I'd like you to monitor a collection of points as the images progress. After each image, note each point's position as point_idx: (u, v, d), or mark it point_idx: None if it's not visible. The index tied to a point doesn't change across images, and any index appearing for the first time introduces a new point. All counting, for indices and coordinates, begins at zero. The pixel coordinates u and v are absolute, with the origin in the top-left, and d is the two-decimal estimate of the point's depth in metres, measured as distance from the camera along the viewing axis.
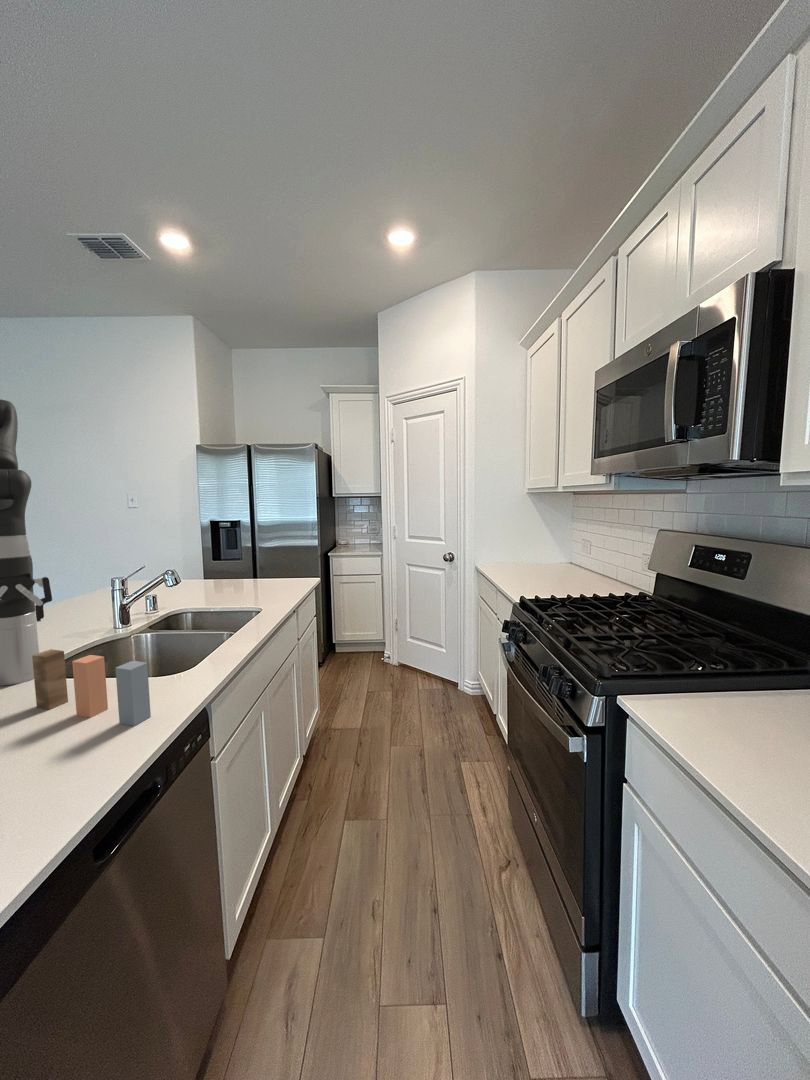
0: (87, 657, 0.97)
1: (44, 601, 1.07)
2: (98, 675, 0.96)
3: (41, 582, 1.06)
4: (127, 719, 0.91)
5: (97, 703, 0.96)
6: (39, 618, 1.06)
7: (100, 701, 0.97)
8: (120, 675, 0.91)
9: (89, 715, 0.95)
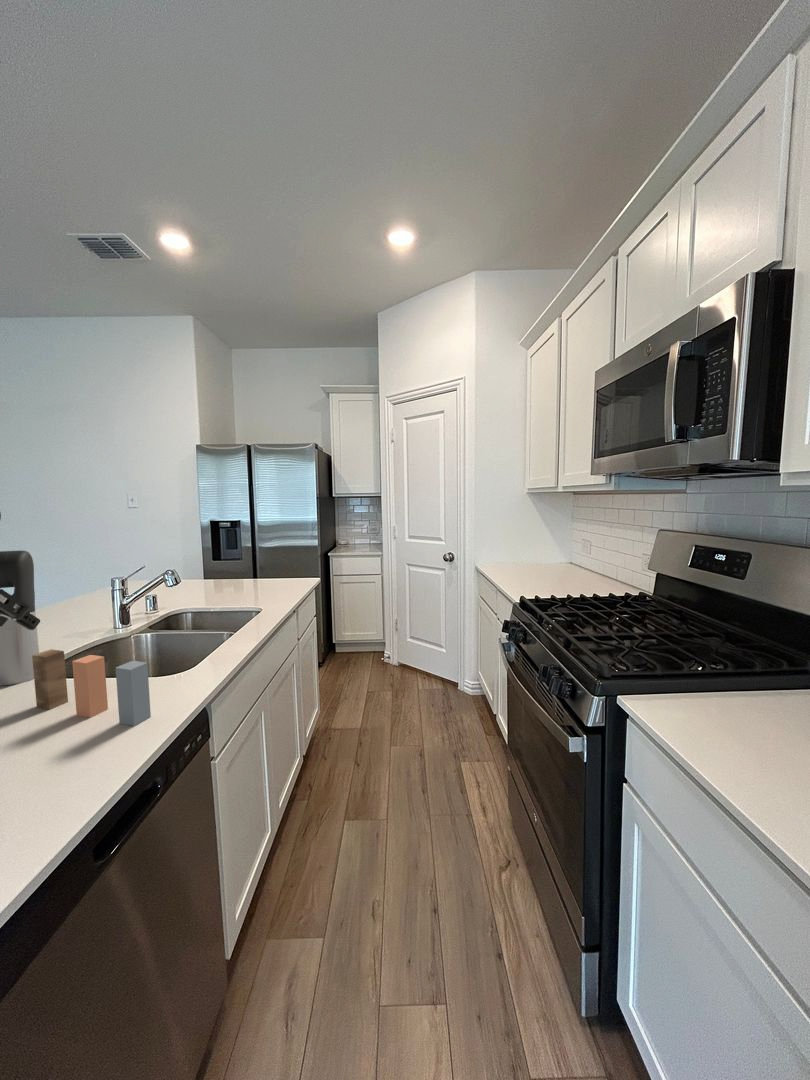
0: (87, 657, 0.97)
1: None
2: (98, 675, 0.96)
3: None
4: (127, 719, 0.91)
5: (97, 703, 0.96)
6: (28, 628, 0.80)
7: (100, 701, 0.97)
8: (120, 675, 0.91)
9: (89, 715, 0.95)
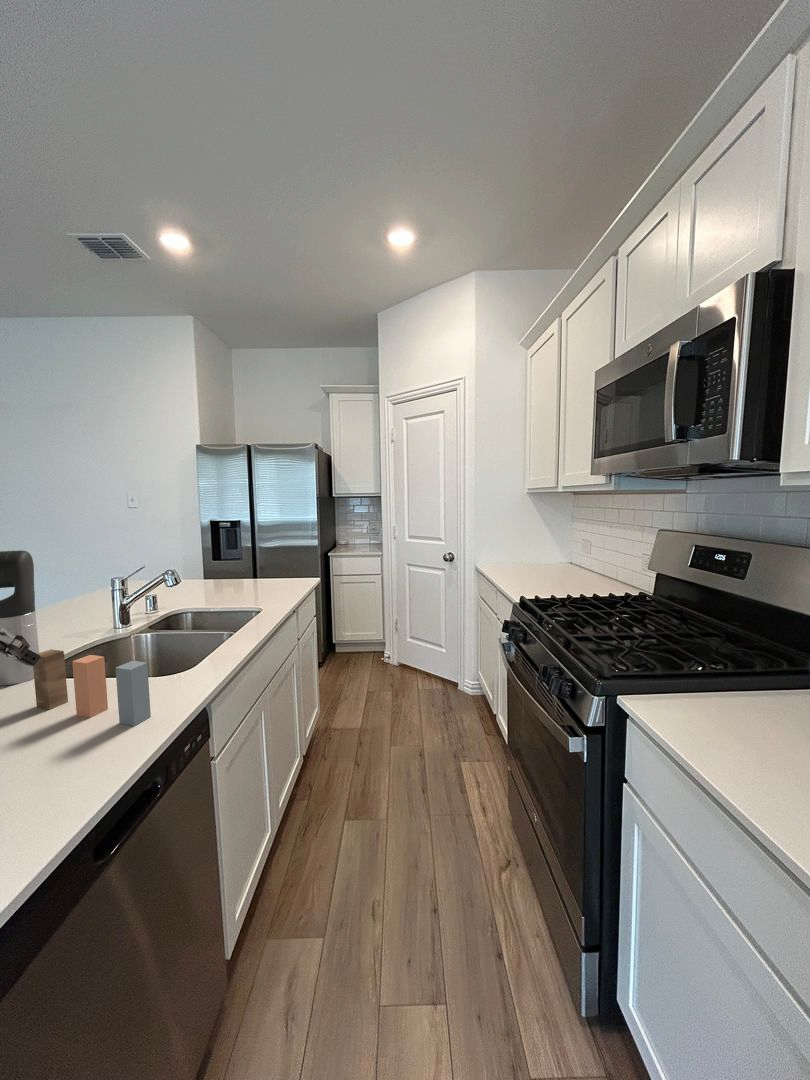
0: (87, 657, 0.97)
1: None
2: (98, 675, 0.96)
3: (9, 644, 0.77)
4: (127, 719, 0.91)
5: (97, 704, 0.96)
6: (29, 665, 0.84)
7: (100, 701, 0.97)
8: (120, 675, 0.91)
9: (89, 715, 0.95)
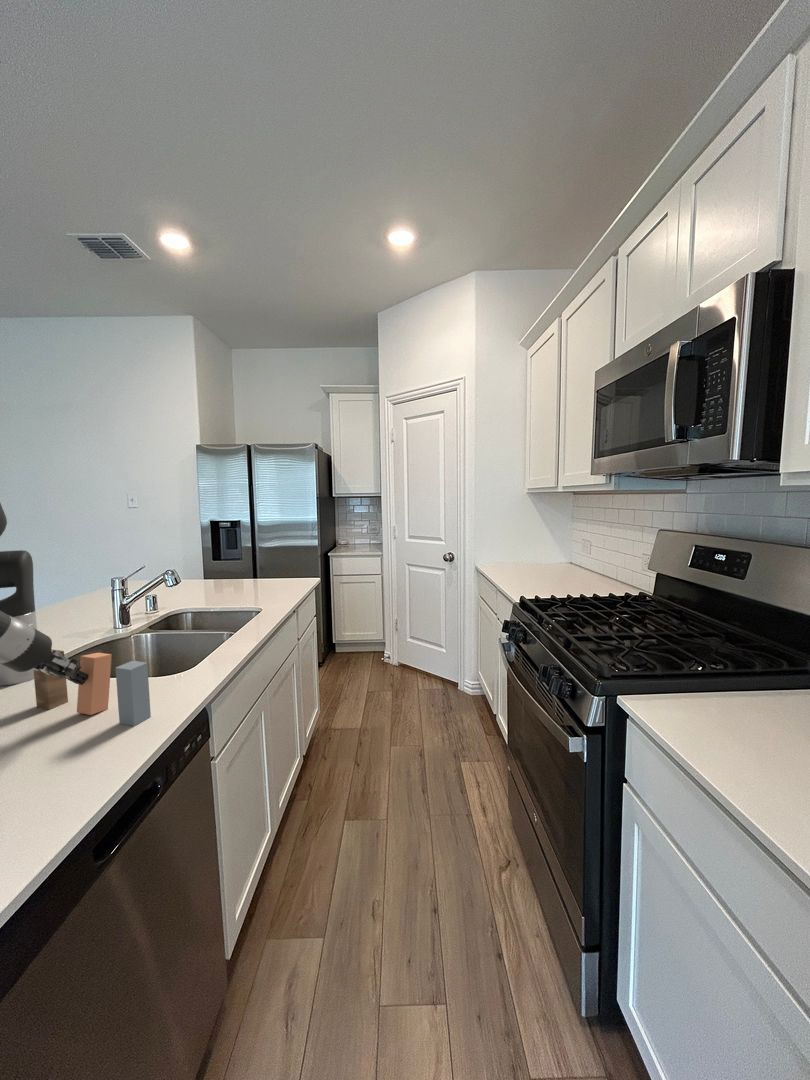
0: (95, 654, 0.98)
1: None
2: (103, 672, 0.97)
3: (65, 667, 0.87)
4: (127, 719, 0.91)
5: (98, 701, 0.96)
6: (79, 683, 0.94)
7: (102, 699, 0.97)
8: (120, 675, 0.91)
9: (89, 712, 0.95)
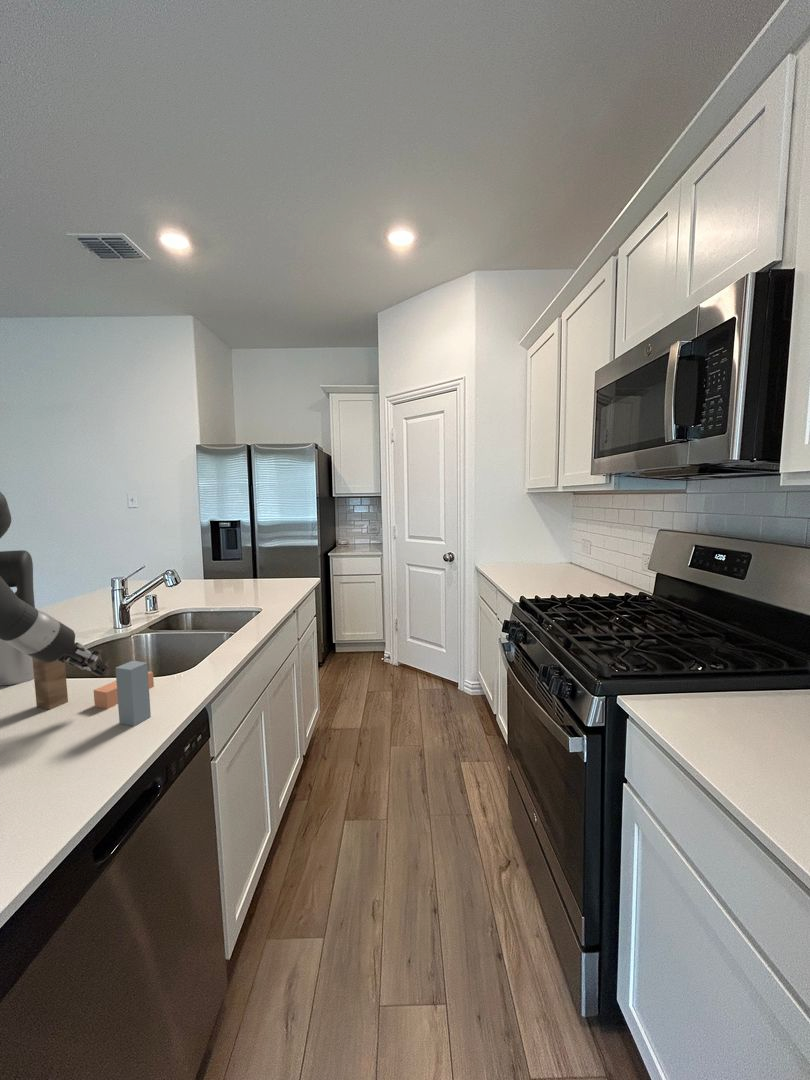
0: None
1: None
2: None
3: (87, 658, 0.91)
4: (127, 719, 0.91)
5: (116, 695, 1.00)
6: (99, 675, 0.98)
7: (117, 698, 1.01)
8: (120, 675, 0.91)
9: (107, 691, 0.99)
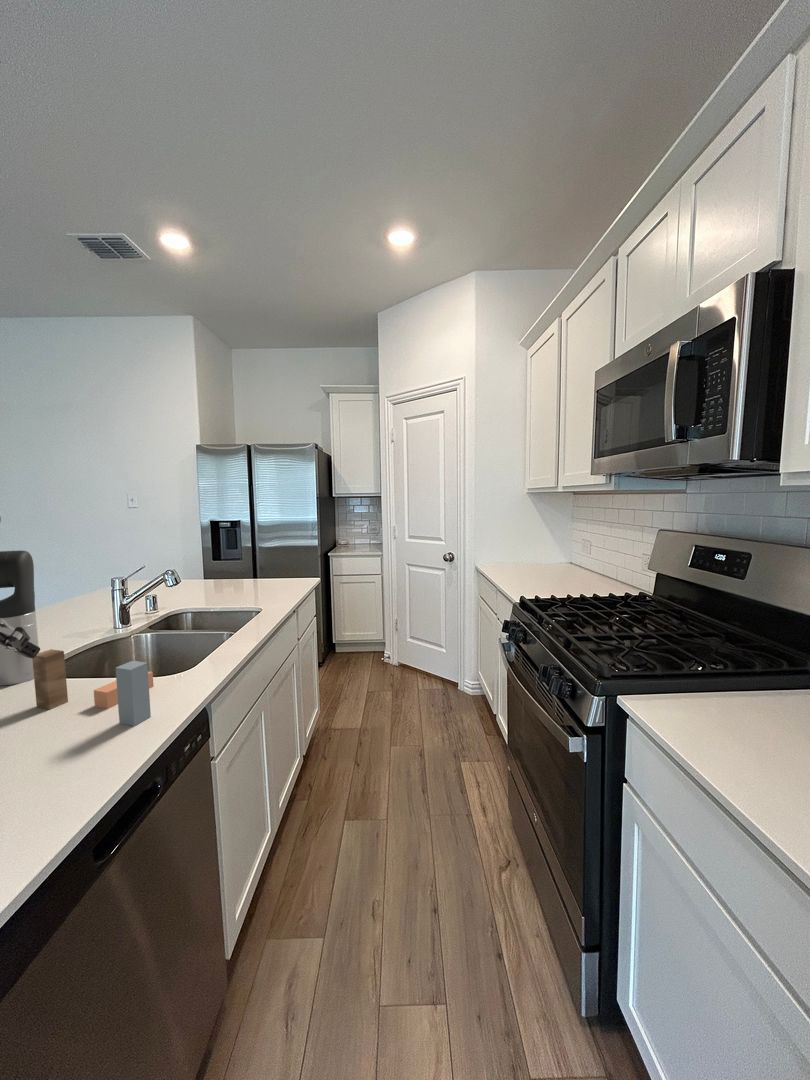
0: None
1: None
2: None
3: None
4: (127, 719, 0.91)
5: (116, 695, 1.00)
6: (29, 657, 0.84)
7: (117, 698, 1.01)
8: (120, 675, 0.91)
9: (108, 691, 0.99)
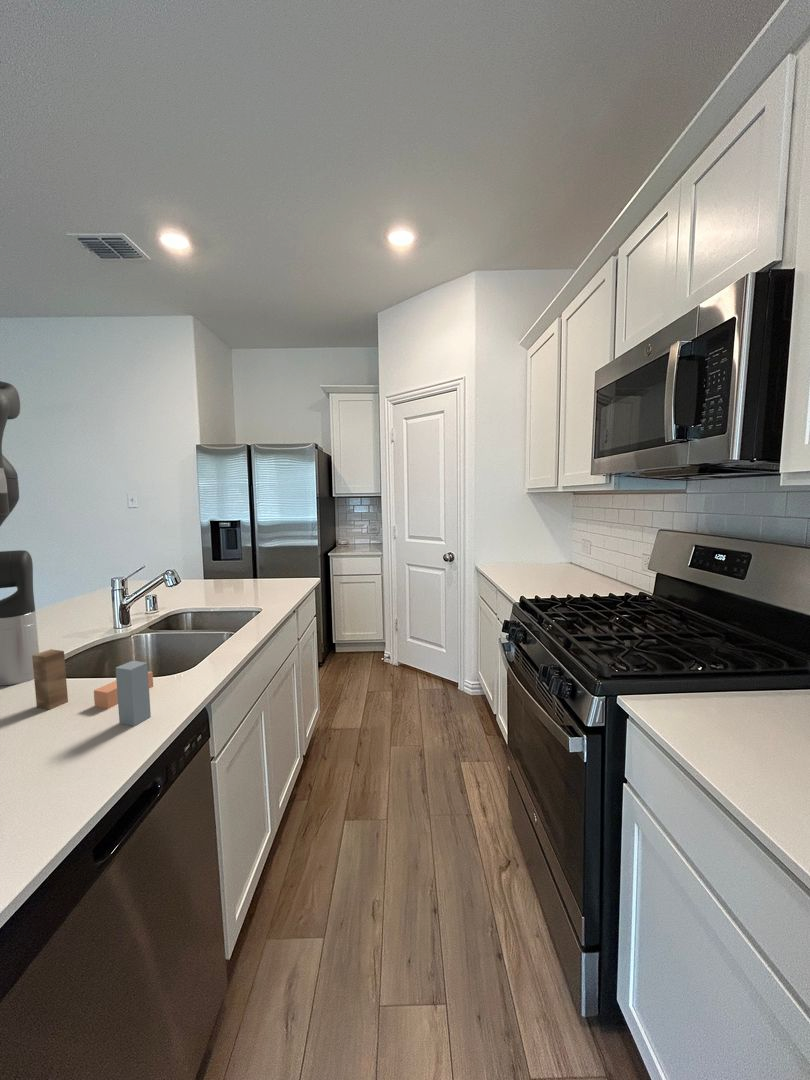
0: None
1: None
2: None
3: None
4: (127, 719, 0.91)
5: (117, 695, 1.00)
6: None
7: None
8: (120, 675, 0.91)
9: (108, 691, 0.99)
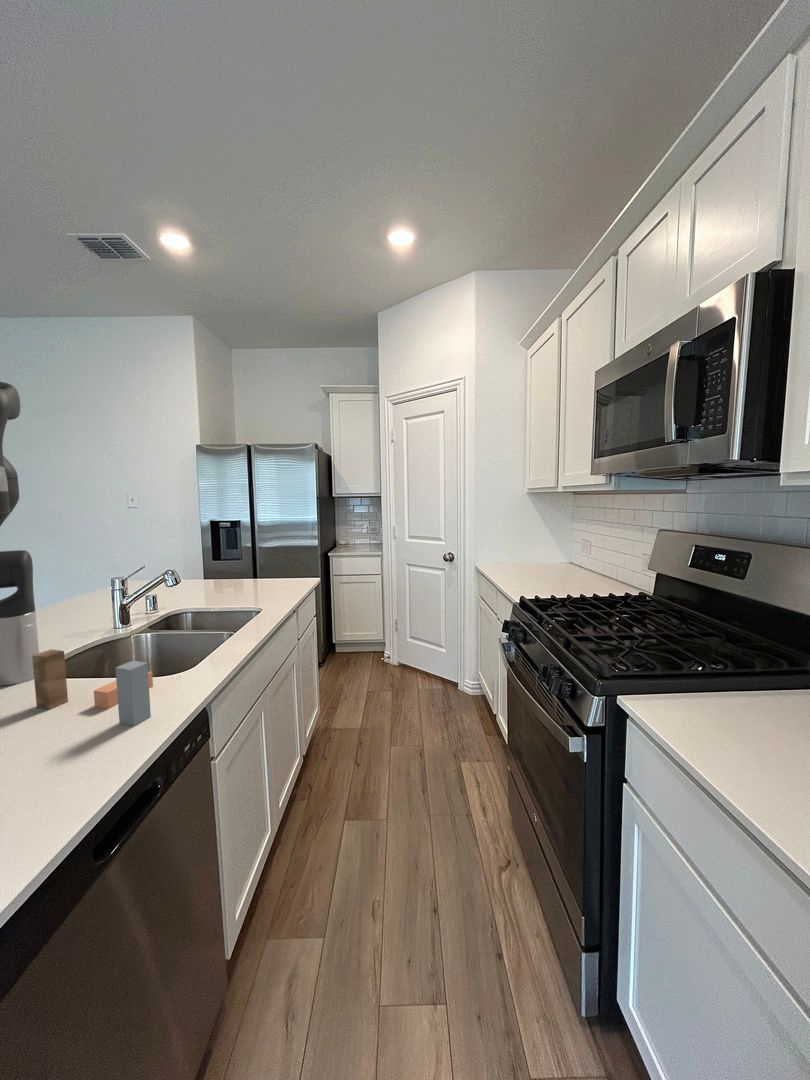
0: None
1: None
2: None
3: None
4: (127, 719, 0.91)
5: (117, 695, 1.00)
6: None
7: None
8: (120, 675, 0.91)
9: (108, 691, 0.99)
